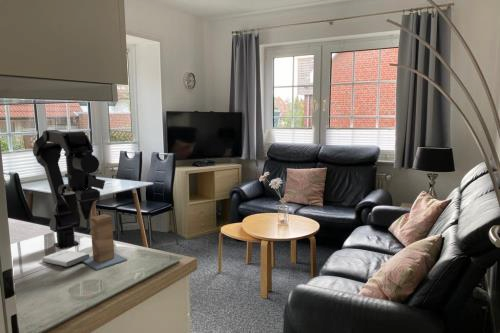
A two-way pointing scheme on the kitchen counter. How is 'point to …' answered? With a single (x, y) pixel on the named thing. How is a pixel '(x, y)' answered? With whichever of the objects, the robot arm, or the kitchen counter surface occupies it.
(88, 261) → the rubber mat
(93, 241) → the walnut block
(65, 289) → the kitchen counter surface
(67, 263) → the external hard drive
